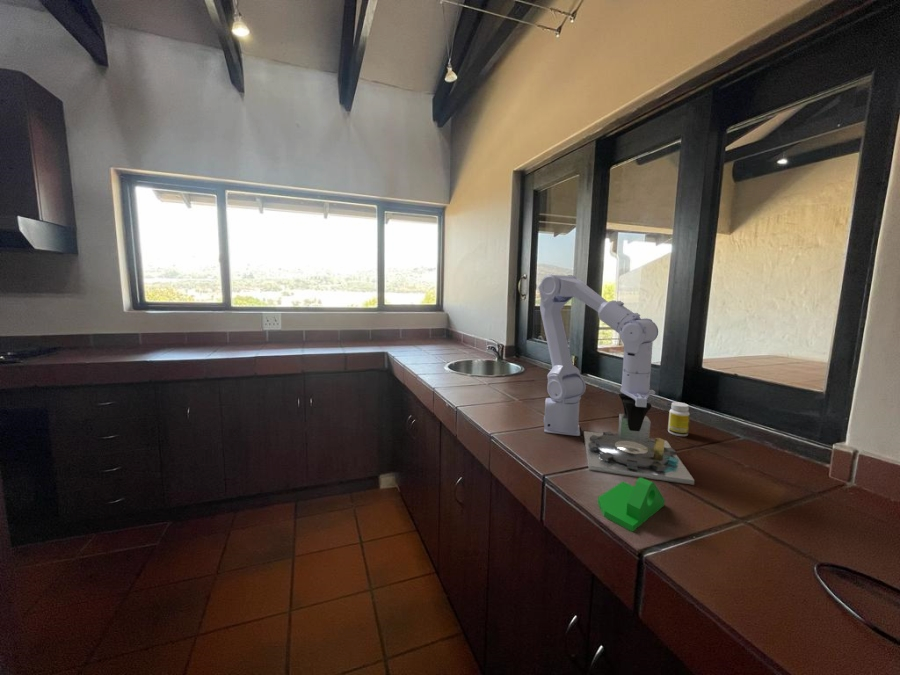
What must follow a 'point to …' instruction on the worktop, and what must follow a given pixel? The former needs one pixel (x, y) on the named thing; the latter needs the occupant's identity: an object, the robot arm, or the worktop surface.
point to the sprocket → (633, 451)
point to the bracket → (631, 503)
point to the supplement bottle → (679, 419)
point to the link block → (633, 435)
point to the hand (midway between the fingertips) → (632, 427)
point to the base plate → (671, 473)
